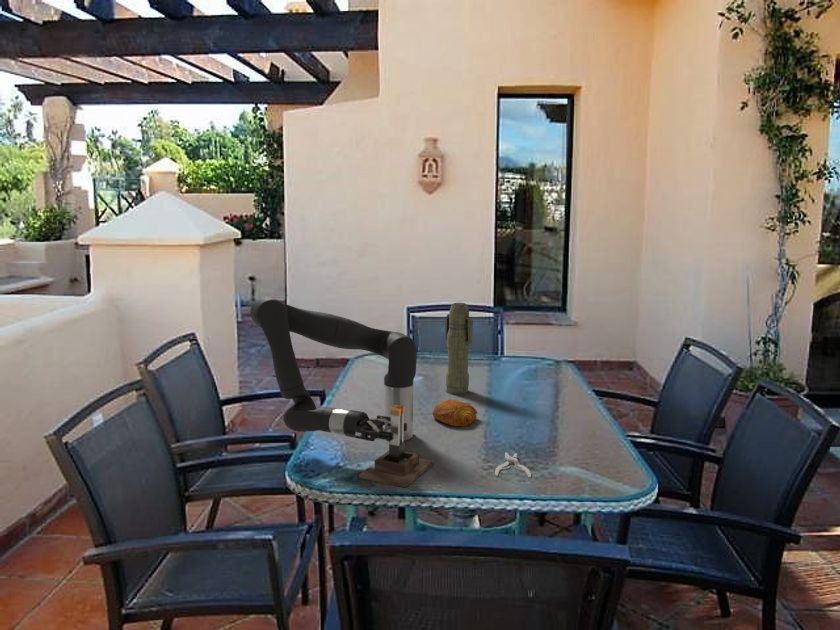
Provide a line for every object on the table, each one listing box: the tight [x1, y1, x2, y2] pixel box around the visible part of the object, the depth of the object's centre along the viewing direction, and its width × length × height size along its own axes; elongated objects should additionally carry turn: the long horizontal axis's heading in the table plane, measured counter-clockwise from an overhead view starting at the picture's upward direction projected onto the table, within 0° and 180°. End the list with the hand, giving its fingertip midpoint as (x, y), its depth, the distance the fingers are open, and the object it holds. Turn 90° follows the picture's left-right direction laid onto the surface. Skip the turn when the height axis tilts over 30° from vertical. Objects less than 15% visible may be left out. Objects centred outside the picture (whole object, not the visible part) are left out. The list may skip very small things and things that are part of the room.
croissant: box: [432, 398, 478, 427], centre depth 236 cm, size 14×16×8 cm
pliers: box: [494, 452, 532, 479], centre depth 196 cm, size 10×2×15 cm
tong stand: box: [358, 450, 434, 488], centre depth 192 cm, size 18×14×4 cm
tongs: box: [388, 405, 407, 464], centre depth 190 cm, size 5×4×18 cm
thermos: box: [445, 302, 474, 395], centre depth 268 cm, size 9×12×35 cm
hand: (399, 431), depth 190 cm, fingers open, 8 cm apart
